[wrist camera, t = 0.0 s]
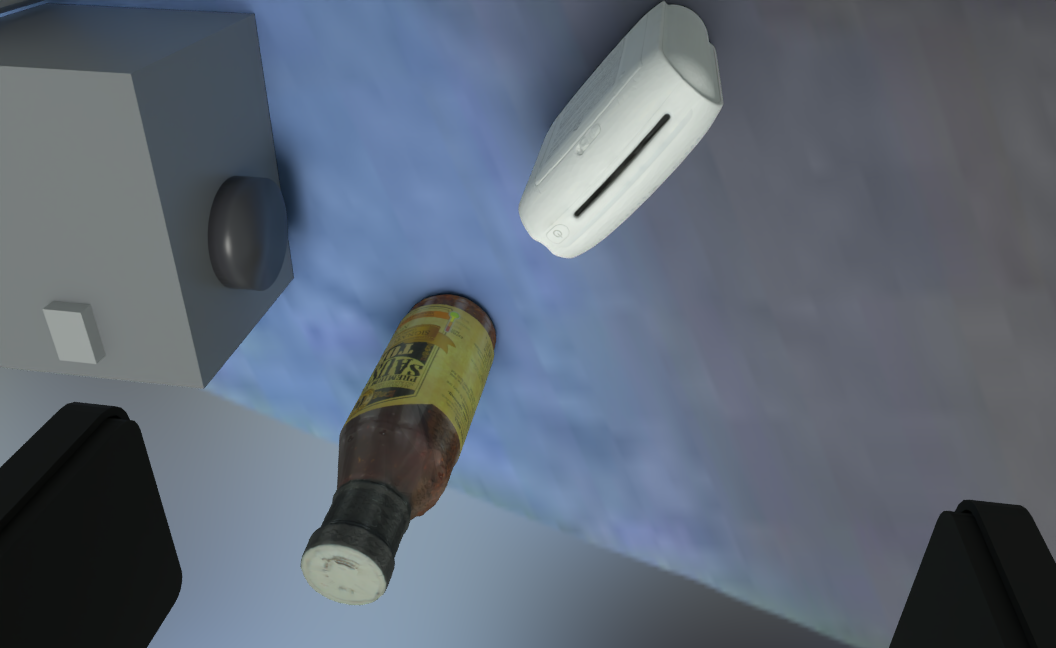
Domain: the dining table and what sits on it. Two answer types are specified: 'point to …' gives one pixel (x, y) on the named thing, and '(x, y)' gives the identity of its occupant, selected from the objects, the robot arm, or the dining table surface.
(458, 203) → the dining table surface
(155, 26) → the gray box
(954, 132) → the dining table surface
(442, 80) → the dining table surface
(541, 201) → the photo printer
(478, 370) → the sauce bottle
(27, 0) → the side door
